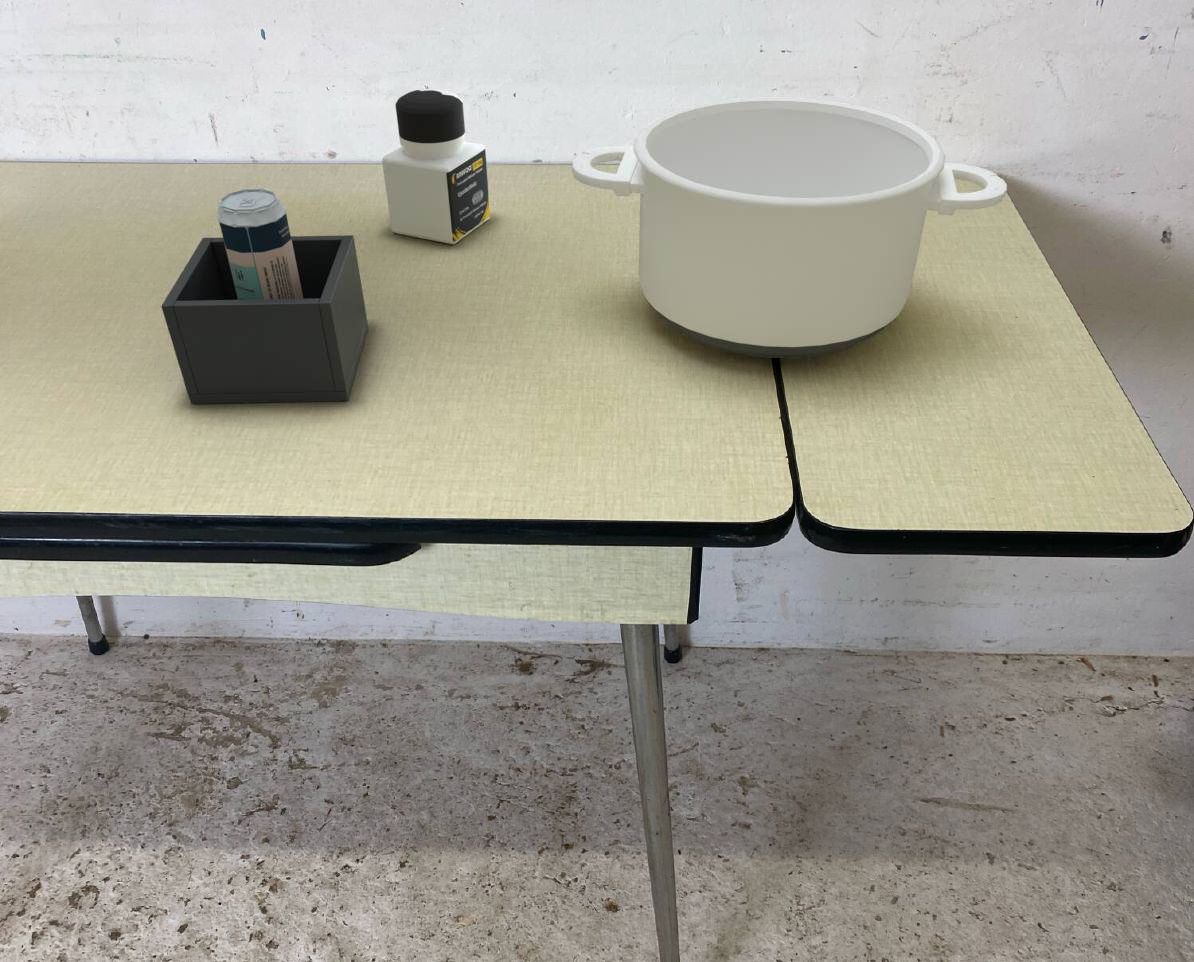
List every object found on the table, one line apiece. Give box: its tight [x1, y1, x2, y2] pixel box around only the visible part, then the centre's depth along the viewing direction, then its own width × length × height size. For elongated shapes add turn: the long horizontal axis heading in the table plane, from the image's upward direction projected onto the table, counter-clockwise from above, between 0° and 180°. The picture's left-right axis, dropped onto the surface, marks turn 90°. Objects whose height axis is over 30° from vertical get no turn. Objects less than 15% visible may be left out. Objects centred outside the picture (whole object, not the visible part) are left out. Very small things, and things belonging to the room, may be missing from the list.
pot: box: [571, 96, 1008, 359], centre depth 84 cm, size 33×23×14 cm
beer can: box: [216, 188, 303, 300], centre depth 77 cm, size 5×5×12 cm
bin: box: [161, 234, 369, 405], centre depth 79 cm, size 12×12×8 cm
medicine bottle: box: [381, 88, 491, 245], centre depth 98 cm, size 7×7×12 cm
